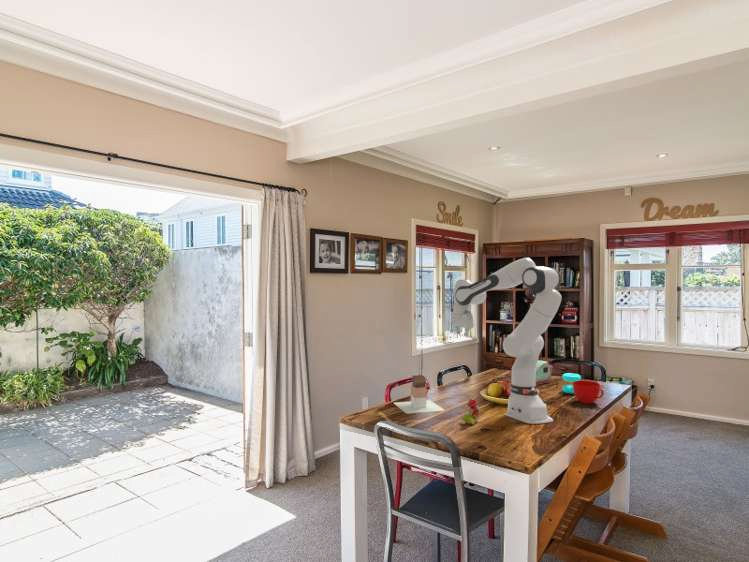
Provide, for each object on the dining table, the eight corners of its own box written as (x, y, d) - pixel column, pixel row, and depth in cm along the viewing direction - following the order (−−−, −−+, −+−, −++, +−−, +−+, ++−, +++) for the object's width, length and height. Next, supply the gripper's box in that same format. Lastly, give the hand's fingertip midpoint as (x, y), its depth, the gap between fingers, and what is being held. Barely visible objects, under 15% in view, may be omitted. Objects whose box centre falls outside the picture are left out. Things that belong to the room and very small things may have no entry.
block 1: (426, 397, 236) (426, 387, 236) (415, 398, 235) (415, 388, 234) (422, 394, 242) (422, 384, 242) (410, 395, 240) (410, 385, 240)
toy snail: (533, 386, 287) (533, 363, 287) (522, 384, 294) (522, 361, 293) (556, 381, 302) (557, 359, 302) (546, 379, 309) (546, 357, 308)
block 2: (426, 407, 236) (426, 397, 236) (415, 408, 235) (415, 398, 235) (421, 404, 242) (422, 394, 242) (410, 405, 240) (410, 395, 240)
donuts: (558, 374, 275) (567, 372, 281) (558, 391, 275) (567, 389, 281) (575, 377, 267) (584, 374, 273) (575, 395, 267) (584, 392, 274)
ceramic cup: (593, 408, 240) (593, 388, 240) (567, 400, 255) (567, 381, 255) (612, 405, 245) (612, 386, 245) (585, 398, 260) (585, 379, 260)
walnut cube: (425, 387, 236) (425, 377, 236) (415, 387, 235) (415, 377, 235) (421, 384, 241) (421, 375, 241) (412, 385, 240) (412, 375, 240)
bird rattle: (469, 424, 219) (458, 420, 214) (475, 401, 222) (464, 396, 217) (480, 428, 215) (469, 423, 209) (487, 403, 217) (475, 399, 212)
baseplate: (445, 412, 231) (445, 410, 231) (406, 415, 226) (406, 413, 226) (429, 402, 251) (429, 400, 251) (393, 405, 245) (393, 402, 245)
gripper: (476, 310, 249) (476, 337, 249) (459, 308, 269) (459, 333, 269) (465, 311, 248) (465, 337, 248) (449, 308, 267) (448, 333, 267)
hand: (462, 335), depth 259 cm, fingers open, 8 cm apart
